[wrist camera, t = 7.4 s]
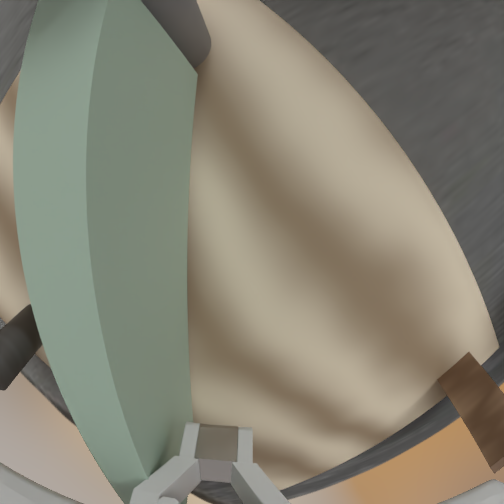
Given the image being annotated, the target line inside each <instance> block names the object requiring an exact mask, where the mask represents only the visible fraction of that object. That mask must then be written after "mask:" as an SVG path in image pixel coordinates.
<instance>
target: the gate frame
mask: <svg viewBox="0 0 504 504" xmlns="http://www.w3.org/2000/svg"><path fill="white" fill-rule="evenodd" d="M196 1H197V3H198V6H199V8H200V11H201V14H202V16H203V19H204V21H205V24H206V27H207V29H208V32H209V35H210V38H211V49H210V52H209V54H208V56H207V57H206V59H205V60H204V61H203V62H202V63H201V64H200V65H198V66H197V67H195V68H194V70H195V71H196V72H197V74H198V77H197V87H196V97H195V107H194V119H193V131H192V145H191V161H190V179H189V202H188V239H187V306H188V343H189V365H190V383H191V399H192V412H193V422H194V423H202V424H210V425H223V426H238V427H252V429H253V463H257V464H258V465H259V467H260V468H261V469H262V470H263V472H264V473H265V474H266V475H267V477H268V478H269V479H270V480H271V481H272V483H273V484H274V485H275V486H276V487H277V489H278V490H279V491H280V490H282V489H285V488H288V487H290V486H293V485H295V484H298V483H300V482H303V481H305V480H307V479H310V478H312V477H314V476H316V475H319V474H321V473H323V472H325V471H327V470H329V469H332V468H334V467H336V466H338V465H340V464H342V463H344V462H346V461H348V460H349V459H351V458H353V457H355V456H357V455H359V454H361V453H362V452H364V451H366V450H368V449H370V448H371V447H373V446H375V445H376V444H378V443H380V442H381V441H383V440H385V439H386V438H388V437H390V436H391V435H393V434H394V433H396V432H397V431H399V430H400V429H402V428H403V427H405V426H406V425H408V424H409V423H411V422H412V421H414V420H415V419H416V418H418V417H419V416H421V415H422V414H423V413H425V412H426V411H428V410H429V409H430V408H432V407H433V406H434V405H435V404H437V403H438V402H439V401H441V400H442V399H443V398H444V397H446V396H448V397H449V399H450V400H451V402H452V403H453V405H454V407H455V408H456V410H457V411H458V413H459V415H460V416H461V418H462V419H463V421H464V423H465V424H466V426H467V427H468V429H469V431H470V433H471V434H472V436H473V438H474V439H475V441H476V443H477V445H478V446H479V448H480V450H481V452H482V453H483V455H484V457H485V459H486V461H487V462H488V464H489V466H490V468H491V469H492V471H493V472H494V473H496V472H497V471H498V470H500V469H501V468H502V467H503V466H504V394H503V392H502V391H501V390H500V388H499V387H498V386H497V385H496V383H495V382H494V381H493V380H492V378H491V377H490V376H489V375H488V373H487V372H486V371H485V370H484V369H483V367H482V366H481V365H482V364H483V363H484V362H485V361H486V360H487V359H488V358H489V357H490V356H491V355H492V354H493V353H494V352H495V351H496V350H497V349H498V348H499V344H498V341H497V338H496V334H495V331H494V328H493V325H492V322H491V319H490V316H489V314H488V311H487V308H486V305H485V303H484V300H483V298H482V295H481V292H480V290H479V287H478V285H477V283H476V280H475V278H474V276H473V273H472V271H471V269H470V266H469V264H468V262H467V260H466V258H465V256H464V254H463V251H462V249H461V247H460V245H459V243H458V241H457V239H456V237H455V235H454V233H453V231H452V230H451V228H450V226H449V224H448V222H447V220H446V218H445V217H444V215H443V213H442V211H441V209H440V208H439V206H438V204H437V202H436V201H435V199H434V197H433V196H432V194H431V192H430V191H429V189H428V187H427V186H426V184H425V183H424V181H423V179H422V178H421V176H420V175H419V173H418V172H417V170H416V169H415V167H414V166H413V164H412V163H411V161H410V160H409V158H408V157H407V155H406V154H405V152H404V151H403V150H402V148H401V147H400V145H399V144H398V143H397V141H396V140H395V139H394V137H393V136H392V135H391V133H390V132H389V131H388V129H387V128H386V127H385V125H384V124H383V123H382V121H381V120H380V119H379V118H378V116H377V115H376V114H375V113H374V111H373V110H372V109H371V108H370V107H369V105H368V104H367V103H366V102H365V101H364V99H363V98H362V97H361V96H360V95H359V94H358V93H357V91H356V90H355V89H354V88H353V87H352V86H351V85H350V84H349V82H348V81H347V80H346V79H345V78H344V77H343V76H342V75H341V74H340V73H339V72H338V71H337V70H336V69H335V67H334V66H333V65H332V64H331V63H330V62H329V61H328V60H327V59H326V58H325V57H324V56H323V55H322V54H321V53H320V52H319V51H318V50H317V49H315V48H314V47H313V46H312V45H311V44H310V43H309V42H308V41H307V40H306V39H305V38H304V37H303V36H302V35H300V34H299V33H298V32H297V31H296V30H295V29H294V28H292V27H291V26H290V25H289V24H288V23H287V22H285V21H284V20H283V19H282V18H281V17H280V16H278V15H277V14H276V13H275V12H273V11H272V10H271V9H270V8H268V7H267V6H266V5H264V4H263V3H262V2H261V1H259V0H196ZM20 72H21V71H20ZM20 72H19V74H18V75H17V77H16V78H15V80H14V82H13V83H12V85H11V87H10V88H9V90H8V92H7V93H6V95H5V97H4V99H3V100H2V102H1V104H0V317H1V318H2V320H3V321H4V322H5V323H6V325H5V326H4V327H3V328H2V329H1V330H0V390H6V389H7V388H8V386H9V385H10V384H11V382H12V381H13V380H14V379H15V377H16V376H17V375H18V374H19V372H20V371H21V370H22V369H23V367H24V366H25V365H26V364H27V362H28V361H29V360H30V359H31V358H32V356H33V355H34V354H36V355H37V356H38V357H39V358H40V359H41V360H42V361H43V362H44V363H46V364H47V365H48V366H49V367H50V364H49V361H48V359H47V356H46V353H45V350H44V347H43V344H42V341H41V338H40V335H39V331H38V328H37V325H36V321H35V318H34V314H33V310H32V306H31V302H30V298H29V294H28V290H27V285H26V281H25V276H24V271H23V265H22V260H21V254H20V247H19V240H18V233H17V224H16V215H15V202H14V185H13V139H14V121H15V110H16V100H17V92H18V85H19V78H20ZM50 368H51V367H50Z"/></svg>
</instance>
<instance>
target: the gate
mask: <svg viewBox="0 0 504 504" xmlns="http://www.w3.org/2000/svg"><path fill="white" fill-rule="evenodd" d="M210 49H211V38H210V35H209V32H208V29H207V27H206V24H205V21H204V19H203V16H202V14H201V11H200V8H199V6H198V3H197V1H196V0H39V1H38V4H37V7H36V10H35V13H34V16H33V20H32V23H31V27H30V31H29V35H28V39H27V43H26V47H25V52H24V56H23V61H22V67H21V72H20V78H19V85H18V92H17V100H16V110H15V121H14V139H13V185H14V202H15V215H16V224H17V233H18V240H19V247H20V254H21V260H22V265H23V271H24V276H25V281H26V285H27V290H28V294H29V298H30V302H31V306H32V310H33V314H34V318H35V321H36V325H37V328H38V331H39V335H40V338H41V341H42V344H43V347H44V350H45V353H46V356H47V359H48V361H49V364H50V367H51V369H52V372H53V375H54V377H55V380H56V382H57V385H58V387H59V389H60V392H61V394H62V396H63V399H64V401H65V403H66V405H67V407H68V410H69V412H70V414H71V416H72V418H73V420H74V422H75V424H76V426H77V428H78V430H79V432H80V434H81V436H82V437H83V439H84V441H85V443H86V445H87V447H88V448H89V450H90V452H91V454H92V455H93V457H94V459H95V460H96V462H97V464H98V465H99V467H100V468H101V470H102V472H103V473H104V475H105V476H106V478H107V479H108V481H109V482H110V484H111V485H112V487H113V488H114V490H115V491H116V493H117V494H118V496H119V497H120V498H121V500H122V501H123V502H124V504H130V500H131V496H132V493H133V489H134V488H135V487H137V486H138V485H139V484H141V483H142V482H143V481H144V480H146V479H147V480H148V479H149V476H151V475H152V474H153V473H154V472H156V471H157V470H158V469H159V468H160V467H162V466H163V465H164V464H165V463H167V462H168V461H169V460H170V459H171V458H172V457H174V456H179V452H180V447H181V442H182V437H183V433H184V428H185V424H186V422H193V412H192V399H191V383H190V365H189V343H188V306H187V239H188V202H189V179H190V161H191V145H192V131H193V119H194V107H195V97H196V87H197V77H198V74H197V72H196V71H195V70H194V68H195V67H197V66H198V65H200V64H201V63H202V62H203V61H204V60H205V59H206V57H207V56H208V54H209V52H210ZM187 497H188V496H187ZM187 497H186V498H185V499H184V500H183V501H182V502H181V503H180V504H187Z"/></svg>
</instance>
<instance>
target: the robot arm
mask: <svg viewBox="0 0 504 504" xmlns="http://www.w3.org/2000/svg"><path fill="white" fill-rule="evenodd" d="M201 480H206V481H217V482H227V483H231V485H232V487H233V488H234V490H235V491H236V493H237V494H238V496H239V497H240V499H241V500H242V502H243V503H244V504H290V503H289V501H288V500H287V499H286V498H285V497H284V496H283V494H282V493H281V492H280V491H279V490H278V489H277V487H276V486H275V485H274V484H273V483H272V481H271V480H270V479H269V478H268V477H267V475H266V474H265V473H264V472H263V470H262V469H261V468H260V467H259V465H258V464H257V463H253V429H252V427H238V426H223V425H210V424H202V423H194V422H186V424H185V428H184V433H183V437H182V442H181V447H180V452H179V456H174V457H172V458H171V459H170V460H169V461H168V462H167V463H165V464H164V465H163V466H162V467H160V468H159V469H158V470H157V471H156V472H154V473H153V474H152V475H151V476H149V479H148V480H147V479H146V480H144V481H143V482H142V483H141V484H139V485H138V486H137V487H135V488H134V489H133V493H132V496H131V500H130V504H180V503H181V502H182V501H183V500H184V499H185V498H186V497H187V496H188V495H189V493H191V492H192V490H193V489H194V488H195V487H196V486H197V485H198V484H199V483H200V482H201ZM0 504H83V503H80V502H78V501H75V500H73V499H70V498H68V497H65V496H63V495H61V494H58V493H56V492H54V491H52V490H50V489H48V488H46V487H44V486H42V485H40V484H37V483H36V482H34V481H32V480H30V479H28V478H26V477H24V476H23V475H20V474H19V473H17V472H15V471H13V470H12V469H10V468H9V467H7V466H5V465H4V464H2V463H0ZM438 504H504V483H502V482H500V481H497V480H494V479H493V480H489V481H487V482H485V483H483V484H481V485H479V486H477V487H474V488H472V489H470V490H468V491H466V492H464V493H462V494H459V495H457V496H455V497H453V498H450V499H448V500H445V501H443V502H440V503H438Z"/></svg>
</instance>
